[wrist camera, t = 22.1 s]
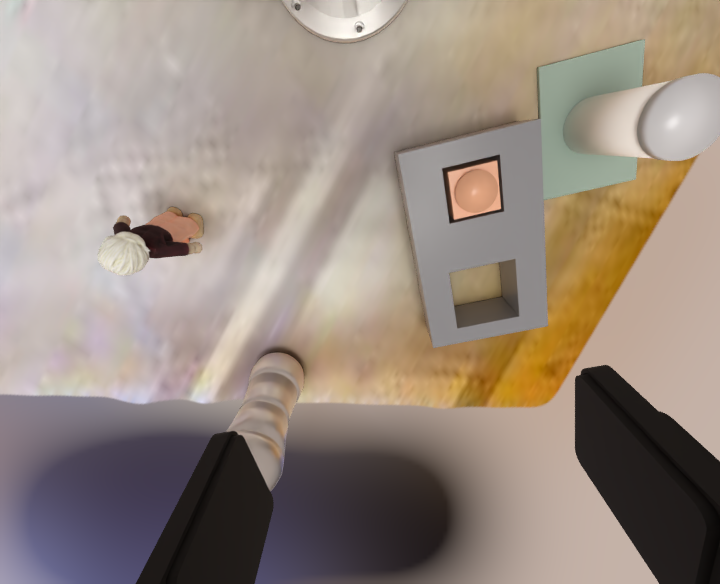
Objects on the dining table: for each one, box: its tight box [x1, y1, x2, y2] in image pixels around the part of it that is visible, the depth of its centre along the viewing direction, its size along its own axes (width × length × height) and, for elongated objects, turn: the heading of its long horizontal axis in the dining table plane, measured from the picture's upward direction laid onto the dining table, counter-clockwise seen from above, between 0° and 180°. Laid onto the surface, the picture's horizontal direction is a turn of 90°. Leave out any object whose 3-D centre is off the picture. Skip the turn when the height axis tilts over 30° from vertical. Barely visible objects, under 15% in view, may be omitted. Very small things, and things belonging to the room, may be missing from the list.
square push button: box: [442, 158, 501, 220], centre depth 33 cm, size 4×4×6 cm
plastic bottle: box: [226, 352, 304, 491], centre depth 36 cm, size 6×7×20 cm
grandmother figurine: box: [98, 207, 204, 276], centre depth 33 cm, size 8×4×13 cm, turn 81°
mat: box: [537, 39, 645, 200], centre depth 34 cm, size 12×9×1 cm
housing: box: [394, 119, 548, 348], centre depth 36 cm, size 20×12×5 cm, turn 13°
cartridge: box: [563, 73, 720, 161], centre depth 28 cm, size 5×5×11 cm
